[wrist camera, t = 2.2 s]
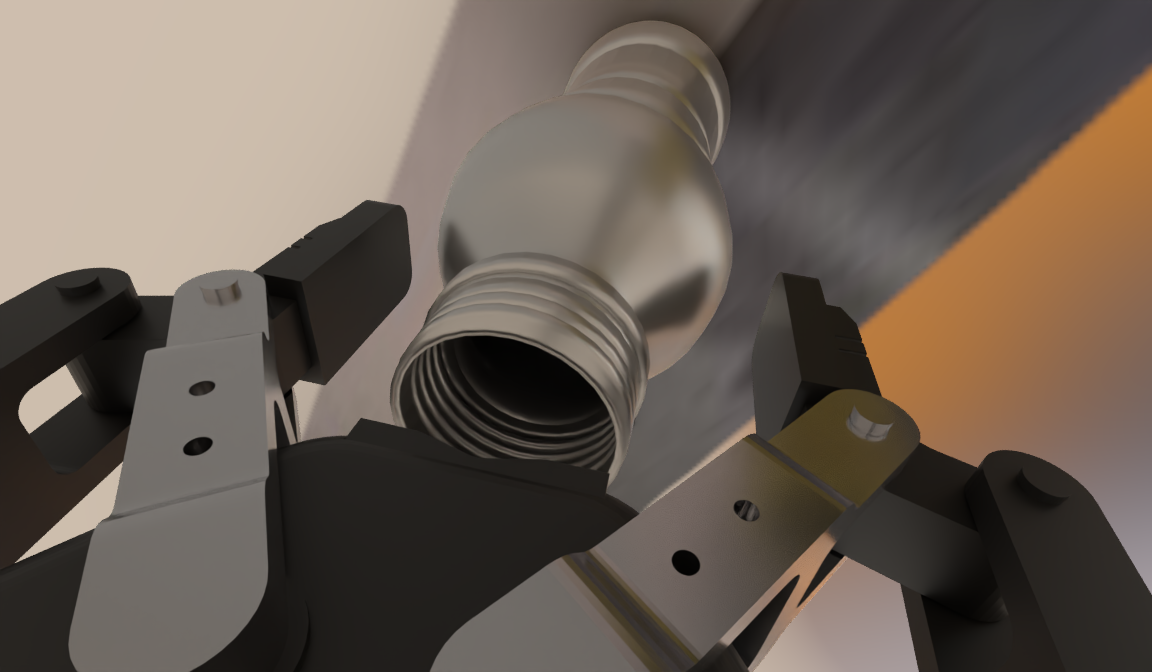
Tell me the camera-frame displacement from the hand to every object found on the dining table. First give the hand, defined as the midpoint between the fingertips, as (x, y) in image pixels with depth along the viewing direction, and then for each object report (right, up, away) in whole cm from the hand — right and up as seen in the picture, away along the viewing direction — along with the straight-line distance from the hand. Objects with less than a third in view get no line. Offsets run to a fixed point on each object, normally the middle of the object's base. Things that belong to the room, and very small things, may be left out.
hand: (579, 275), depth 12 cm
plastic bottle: (+3, +9, +12) cm, 15 cm away
